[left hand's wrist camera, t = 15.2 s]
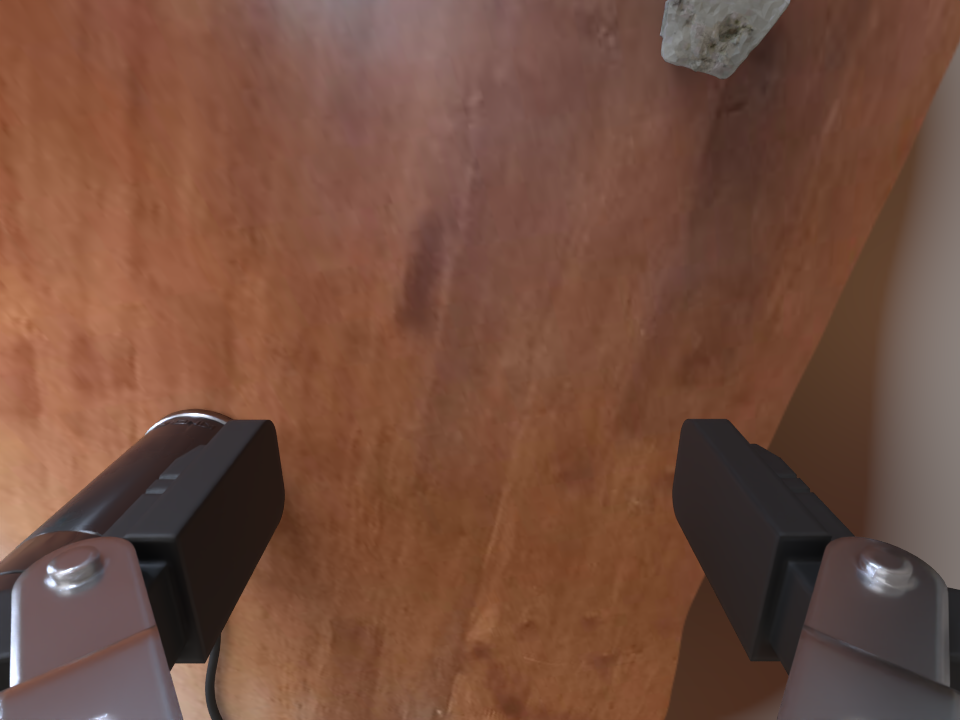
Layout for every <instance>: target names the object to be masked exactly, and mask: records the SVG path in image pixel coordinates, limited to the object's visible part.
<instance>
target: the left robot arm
mask: <svg viewBox="0 0 960 720" xmlns="http://www.w3.org/2000/svg"><path fill="white" fill-rule="evenodd" d="M672 498H673V507H674V512H675V516H676V519H677V521H678V523H679V525H680V527H681V529H682V530H683V532H684V534H685V536H686V538H687V540H688V542H689V544H690V546H691V548H692V550H693V552H694V553H695V555H696V557H697V559H698V561H699V563H700V565H701V567H702V569H703V571H704V573H705V575H706V577H707V578H708V580H709V582H710V584H711V586H712V588H713V590H714V592H715V594H716V596H717V598H718V600H719V601H720V603H721V605H722V607H723V609H724V611H725V613H726V615H727V617H728V619H729V621H730V622H731V624H732V626H733V628H734V630H735V632H736V634H737V636H738V638H739V640H740V642H741V644H742V646H743V647H744V649H745V651H746V653H747V655H748V657H749V659H750V661H781V663H782V665H783V667H784V668H785V670H786V672H787V674H788V675H789V678H788V681H787V685H786V689H785V692H784V696H783V699H782V703H781V706H780V710H779V713H778V717H777V720H960V590H957V589H953V588H948V587H947V586H946V584H945V582H944V580H943V579H942V578H941V577H940V575H939V574H938V573H937V572H936V571H935V570H934V569H933V568H932V567H930V566H929V565H928V564H927V563H925V562H924V561H922V560H921V559H919V558H918V557H916V556H915V555H913V554H911V553H909V552H907V551H905V550H903V549H901V548H899V547H896V546H894V545H891V544H888V543H885V542H882V541H878V540H874V539H870V538H863V537H855V536H854V535H853V534H852V533H851V532H850V531H849V529H848V528H847V527H846V526H845V525H844V524H843V523H842V522H841V521H840V520H839V519H838V518H837V517H836V516H835V515H834V514H833V513H832V512H831V511H830V510H829V508H828V507H827V506H826V505H825V504H824V503H823V502H822V501H821V500H820V499H819V498H818V497H817V496H816V495H815V494H814V493H813V492H810V489H809V487H808V486H807V485H806V484H805V483H804V482H803V481H802V480H801V479H800V478H797V477H796V474H795V473H794V472H793V471H792V470H791V468H790V467H789V466H788V465H787V464H786V463H785V462H784V461H783V460H782V459H781V458H780V457H778V456H776V455H774V454H773V453H771V452H769V451H768V450H766V449H764V448H762V447H761V446H759V445H757V444H750V443H749V442H748V441H747V440H746V439H745V438H744V437H743V436H742V434H741V433H740V432H739V431H738V430H737V429H736V428H735V427H734V426H733V424H732V423H731V422H730V421H729V420H727V419H687V420H685V421H684V423H683V425H682V428H681V434H680V440H679V447H678V454H677V461H676V468H675V475H674V482H673V490H672ZM284 500H285V490H284V483H283V476H282V469H281V462H280V455H279V449H278V442H277V435H276V430H275V426H274V424H273V423H272V421H270V420H232V419H231V418H229V417H226V416H224V415H222V414H219V413H216V412H212V411H208V410H200V409H189V410H182V411H178V412H175V413H172V414H170V415H167V416H166V417H164V418H162V419H161V420H160V421H158V422H157V423H156V424H155V425H154V426H153V427H151V428H150V429H149V430H148V432H147V433H146V434H145V436H143V437H142V438H141V439H140V440H139V441H138V442H137V443H135V444H134V445H133V446H132V447H131V448H129V449H128V450H127V451H126V452H125V453H124V454H122V455H121V456H120V457H119V458H118V459H117V460H116V461H114V462H113V463H112V464H111V465H110V466H109V467H108V468H106V469H105V470H104V471H103V472H102V473H101V474H100V475H98V476H97V477H96V478H95V479H94V480H93V481H92V482H90V483H89V484H88V485H87V486H86V487H85V488H84V489H82V490H81V491H80V492H79V493H78V494H77V495H76V496H74V497H73V498H72V499H71V500H70V501H69V502H68V503H66V504H65V505H64V506H63V507H62V508H61V509H60V510H58V511H57V512H56V513H55V514H54V515H53V516H52V517H50V518H49V519H48V520H47V521H46V522H45V523H44V524H42V525H41V526H40V527H39V528H38V529H37V530H36V531H34V532H33V533H32V534H31V535H30V536H29V537H28V538H26V539H25V540H24V541H23V542H22V543H21V544H20V545H18V546H17V547H16V548H15V549H14V550H13V551H12V552H11V553H10V554H8V555H7V556H6V557H5V558H4V559H3V560H2V561H0V720H183V717H182V713H181V710H180V706H179V703H178V699H177V696H176V692H175V688H174V685H173V681H172V678H171V674H170V671H171V669H172V667H173V666H174V664H175V663H205V662H206V660H207V658H208V657H209V655H210V657H209V663H208V668H207V674H206V683H205V695H206V703H207V707H208V711H209V714H210V716H211V719H212V720H222V718H221V715H220V713H219V710H218V708H217V704H216V699H215V690H214V682H215V673H216V668H217V662H218V657H219V651H220V642H221V632H222V630H223V628H224V626H225V624H226V622H227V621H228V619H229V617H230V615H231V613H232V611H233V609H234V607H235V605H236V603H237V602H238V600H239V598H240V596H241V594H242V592H243V590H244V588H245V586H246V584H247V583H248V581H249V579H250V577H251V575H252V573H253V571H254V569H255V567H256V566H257V564H258V562H259V560H260V558H261V556H262V554H263V552H264V550H265V548H266V547H267V545H268V543H269V541H270V539H271V537H272V535H273V533H274V531H275V530H276V528H277V526H278V524H279V522H280V520H281V517H282V513H283V508H284Z"/></svg>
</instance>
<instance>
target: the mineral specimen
mask: <svg viewBox="0 0 960 720" xmlns="http://www.w3.org/2000/svg"><path fill="white" fill-rule="evenodd" d="M789 3H790V0H667V1H666V3H665V11H664V16H663V21H662V27H661V32H660V36H661V37H663V41H662V49H661V55H662V57H663V59H664V60H665V62H668V63H671V64H674V65H677V66H684V67H687V68H690V69H692V70H694V71H695V72H696V71H699V72H703V73H707V74H710V75H713V76H716V77H717V78H719V79H726V78H728V77H730V76H731V75H732V74H733V73H734V72H735V71H736V69H737V68H738V66H739V65H740V64H741V63H742V62H743V61H744V60H745V59H746V58H747V57H748V55H749V53H750V52H751V51H752V50H753V49H754V48H755V47H756V46H758V44H759V43H760V42H761V40H762V39H763V38H764V37H765V35H766V34H767V33H768V32H769V30H770V29H771V28H772V27H773V25H774V24H775V23H776V22H777V20H778V19H779V17H780V16H781V15H782V14H783V12H784V11H785V10H786V8H787V7H788V5H789Z"/></svg>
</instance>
